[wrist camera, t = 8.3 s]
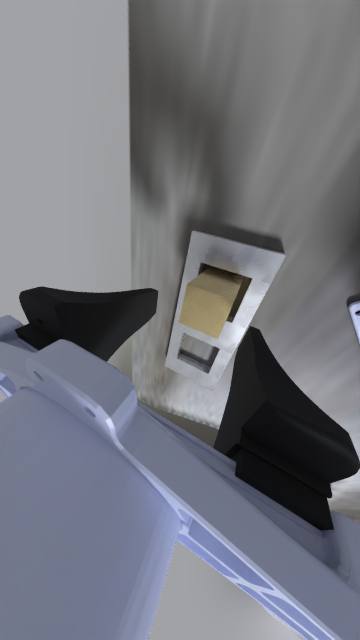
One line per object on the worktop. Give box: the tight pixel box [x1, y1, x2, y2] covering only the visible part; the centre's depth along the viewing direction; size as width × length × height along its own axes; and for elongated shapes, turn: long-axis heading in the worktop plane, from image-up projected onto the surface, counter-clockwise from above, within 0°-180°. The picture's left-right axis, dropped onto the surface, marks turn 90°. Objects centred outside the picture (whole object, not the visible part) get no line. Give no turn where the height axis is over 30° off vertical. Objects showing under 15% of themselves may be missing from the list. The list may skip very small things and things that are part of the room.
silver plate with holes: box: [165, 230, 286, 391], centre depth 22 cm, size 22×9×2 cm, turn 169°
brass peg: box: [179, 267, 244, 339], centre depth 16 cm, size 4×4×7 cm
